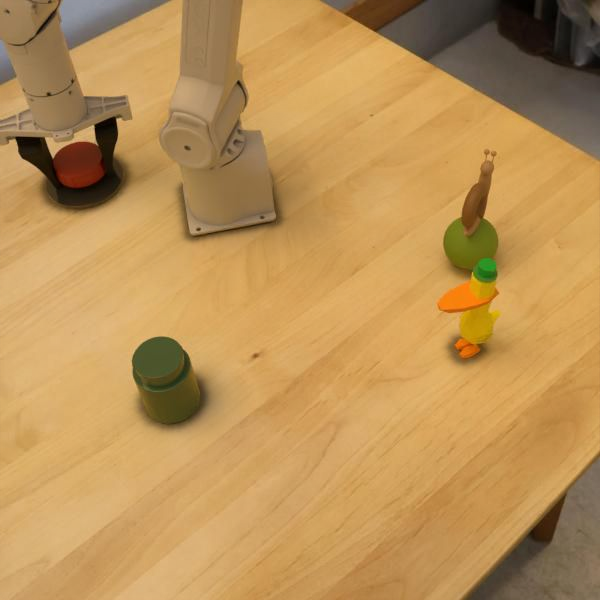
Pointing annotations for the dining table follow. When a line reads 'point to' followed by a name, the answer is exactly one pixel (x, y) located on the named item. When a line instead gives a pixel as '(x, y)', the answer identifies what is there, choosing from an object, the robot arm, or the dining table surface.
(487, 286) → the toy figure
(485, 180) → the snail figurine
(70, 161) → the lid
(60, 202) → the coaster
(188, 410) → the jar
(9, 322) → the dining table surface
